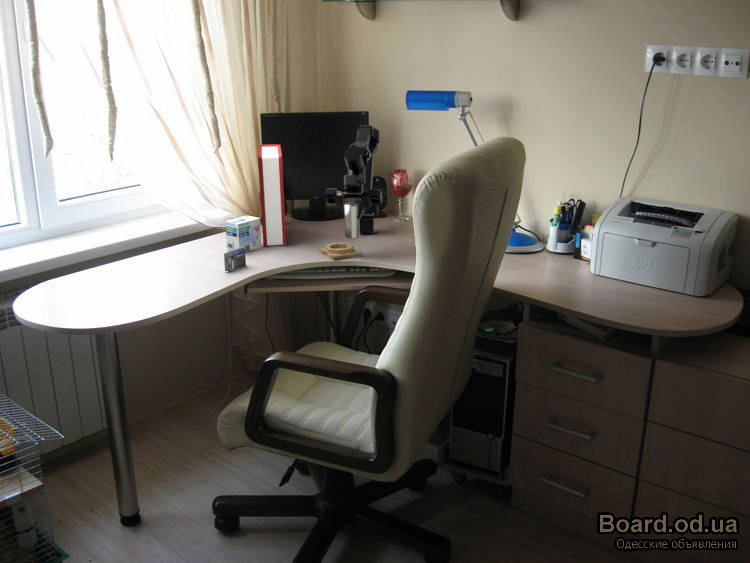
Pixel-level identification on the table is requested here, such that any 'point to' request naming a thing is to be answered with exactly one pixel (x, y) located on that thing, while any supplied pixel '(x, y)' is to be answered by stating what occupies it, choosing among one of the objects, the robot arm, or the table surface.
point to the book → (272, 194)
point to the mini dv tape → (235, 259)
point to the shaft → (351, 220)
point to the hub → (339, 251)
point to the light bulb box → (243, 233)
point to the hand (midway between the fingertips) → (351, 218)
